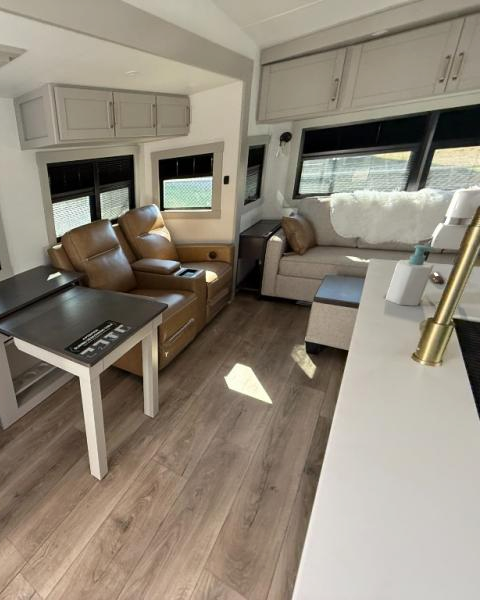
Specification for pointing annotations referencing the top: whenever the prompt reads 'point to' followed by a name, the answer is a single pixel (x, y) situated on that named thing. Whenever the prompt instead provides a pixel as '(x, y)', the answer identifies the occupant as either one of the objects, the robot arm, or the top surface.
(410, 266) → the soap bottle
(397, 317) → the top surface
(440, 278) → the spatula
